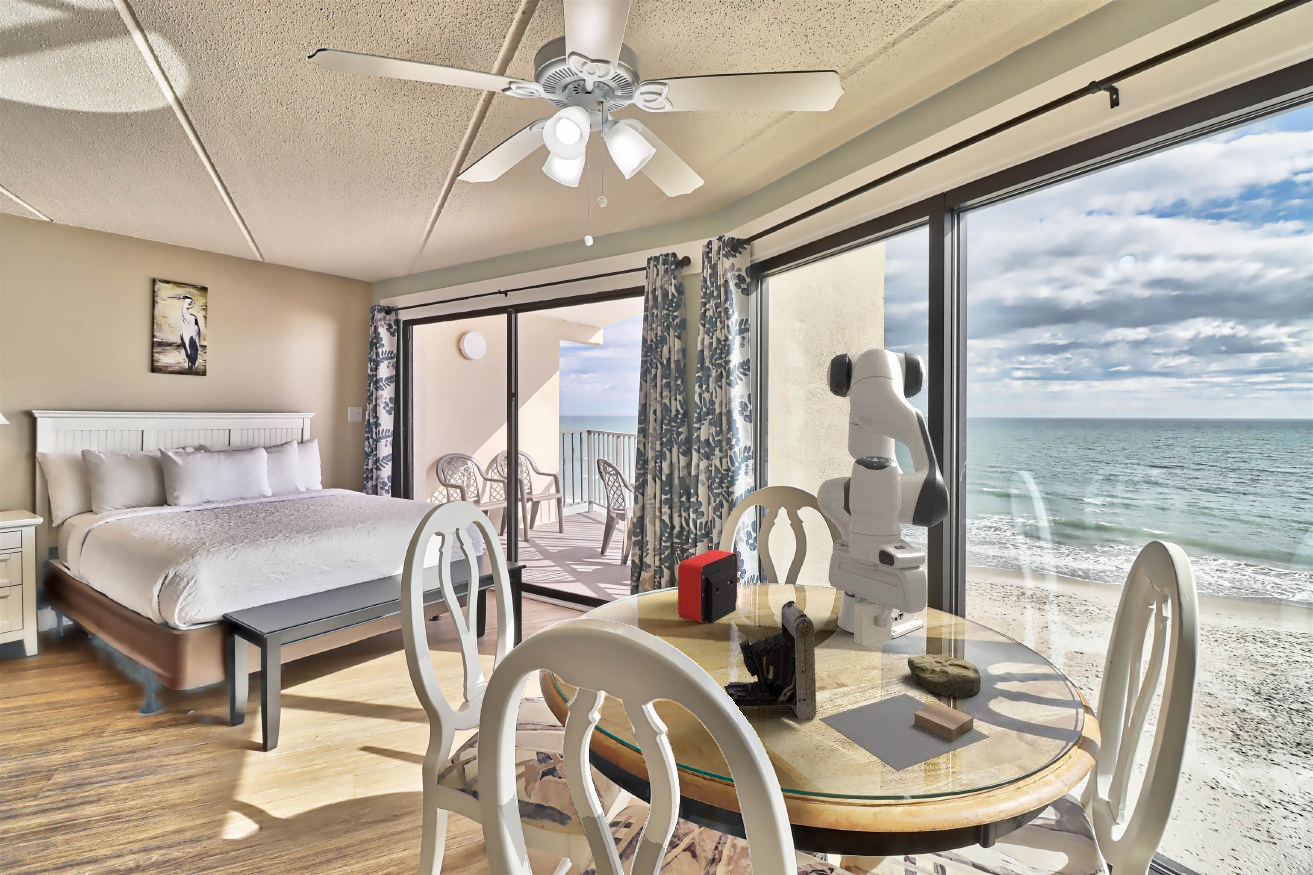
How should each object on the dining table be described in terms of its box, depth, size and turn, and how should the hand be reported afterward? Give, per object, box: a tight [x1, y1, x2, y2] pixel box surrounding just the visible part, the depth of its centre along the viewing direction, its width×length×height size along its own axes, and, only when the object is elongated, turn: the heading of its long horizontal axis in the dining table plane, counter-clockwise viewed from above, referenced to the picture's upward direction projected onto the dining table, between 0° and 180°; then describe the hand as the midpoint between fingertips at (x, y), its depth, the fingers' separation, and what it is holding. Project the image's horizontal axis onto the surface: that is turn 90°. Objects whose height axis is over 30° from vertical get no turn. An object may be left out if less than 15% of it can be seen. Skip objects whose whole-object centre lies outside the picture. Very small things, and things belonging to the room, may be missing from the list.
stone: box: [907, 653, 982, 698], centre depth 128 cm, size 13×13×5 cm
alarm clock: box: [677, 549, 738, 624], centre depth 171 cm, size 10×20×16 cm, turn 144°
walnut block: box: [914, 701, 975, 741], centre depth 111 cm, size 7×7×2 cm
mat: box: [819, 693, 990, 772], centre depth 110 cm, size 22×18×1 cm
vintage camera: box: [723, 600, 817, 721], centre depth 116 cm, size 10×16×20 cm, turn 95°
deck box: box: [853, 600, 892, 647], centre depth 112 cm, size 7×2×7 cm, turn 117°
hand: (873, 623), depth 112 cm, fingers closed on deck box, 2 cm apart
